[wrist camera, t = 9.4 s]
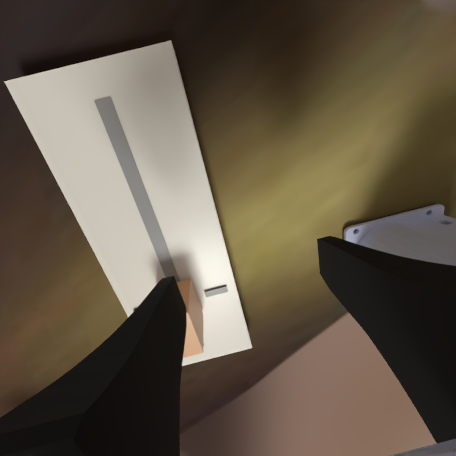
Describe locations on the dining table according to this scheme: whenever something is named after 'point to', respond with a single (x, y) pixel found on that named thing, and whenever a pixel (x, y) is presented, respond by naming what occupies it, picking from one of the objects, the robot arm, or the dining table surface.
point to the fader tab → (192, 319)
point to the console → (137, 180)
